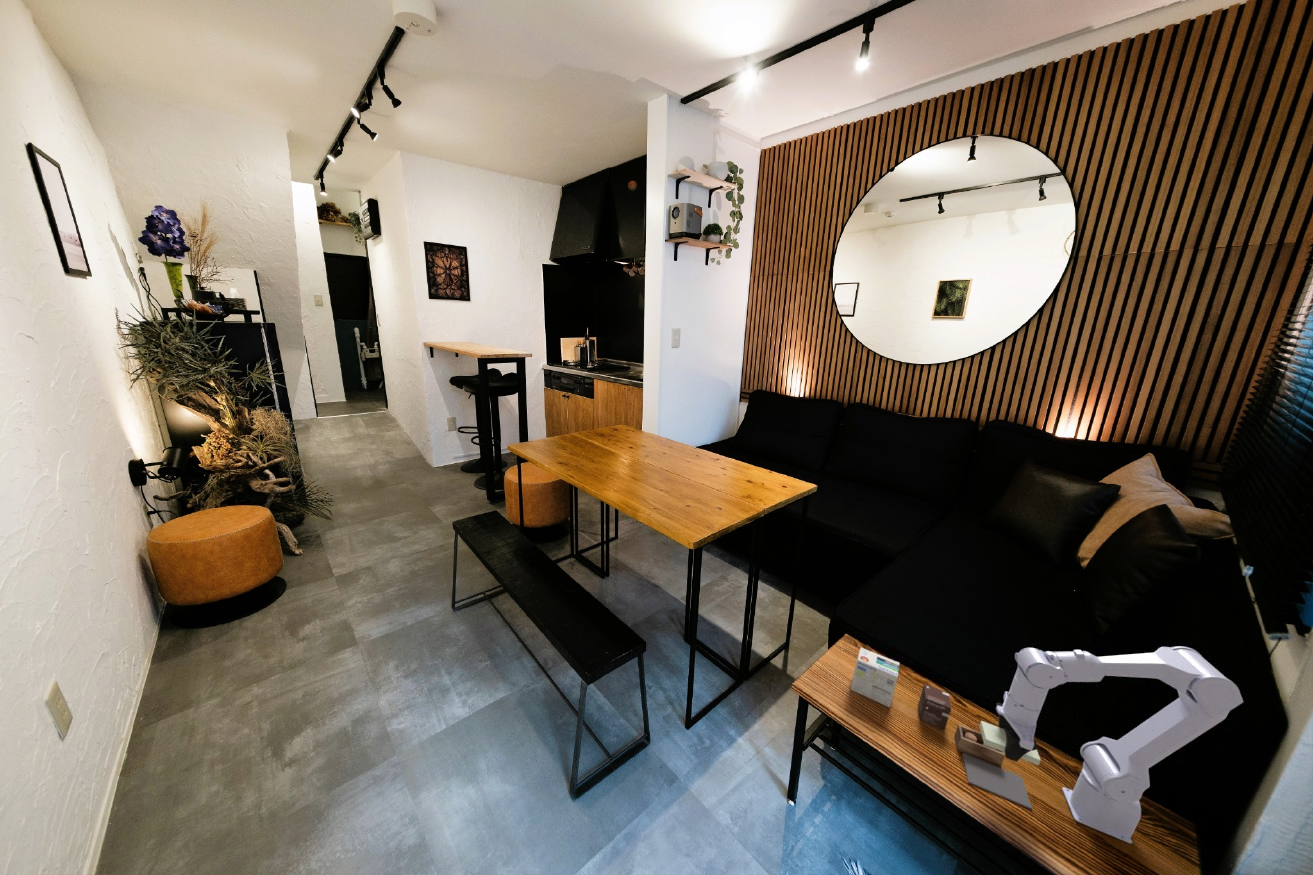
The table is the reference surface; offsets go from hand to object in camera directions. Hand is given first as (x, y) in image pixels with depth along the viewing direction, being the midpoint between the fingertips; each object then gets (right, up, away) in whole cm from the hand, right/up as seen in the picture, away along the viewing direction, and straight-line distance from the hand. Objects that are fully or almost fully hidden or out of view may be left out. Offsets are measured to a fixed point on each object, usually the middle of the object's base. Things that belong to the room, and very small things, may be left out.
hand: (1007, 747), depth 101 cm
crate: (0, -8, +10) cm, 13 cm away
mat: (-1, -10, +3) cm, 10 cm away
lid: (0, +1, 0) cm, 1 cm away
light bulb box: (-19, -2, +26) cm, 32 cm away
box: (-6, -5, +19) cm, 20 cm away
